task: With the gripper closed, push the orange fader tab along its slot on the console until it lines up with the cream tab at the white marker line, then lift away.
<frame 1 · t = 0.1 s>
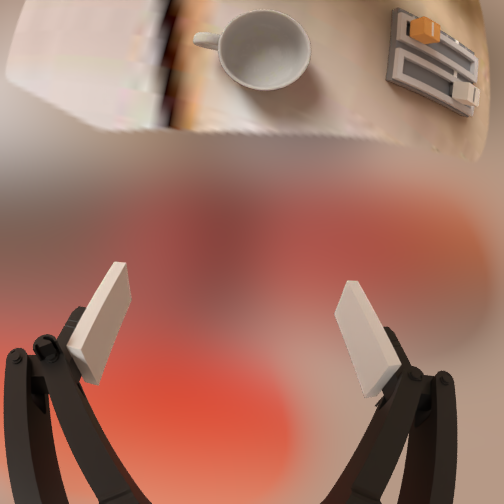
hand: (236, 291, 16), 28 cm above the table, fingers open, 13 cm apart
fader b: (464, 93, 28), point 5 cm above the table, slide at 10.0 cm
fader a: (422, 31, 24), point 5 cm above the table, slide at 0.0 cm
console: (432, 63, 30), on the table
teacup: (249, 54, 31), on the table
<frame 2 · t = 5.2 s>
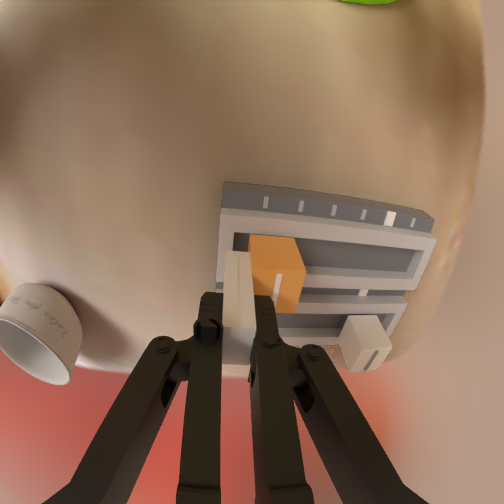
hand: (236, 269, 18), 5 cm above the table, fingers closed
fader b: (361, 339, 23), point 5 cm above the table, slide at 10.0 cm
fader a: (270, 268, 18), point 5 cm above the table, slide at 0.6 cm, touching gripper
console: (319, 269, 24), on the table
teacup: (45, 302, 26), on the table
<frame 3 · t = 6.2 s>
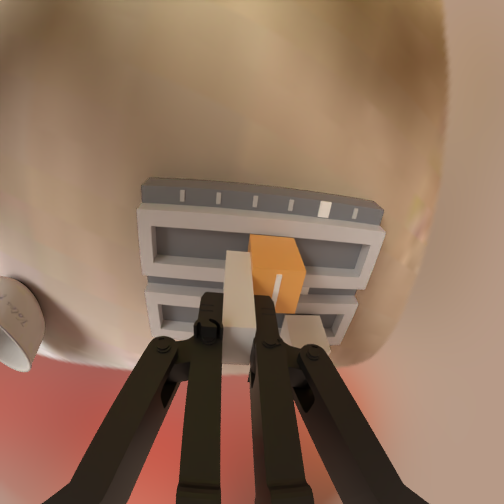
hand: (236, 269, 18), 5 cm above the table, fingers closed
fader b: (301, 340, 22), point 5 cm above the table, slide at 10.0 cm
fader a: (270, 268, 18), point 5 cm above the table, slide at 6.3 cm, touching gripper
console: (256, 264, 24), on the table
teacup: (15, 294, 25), on the table
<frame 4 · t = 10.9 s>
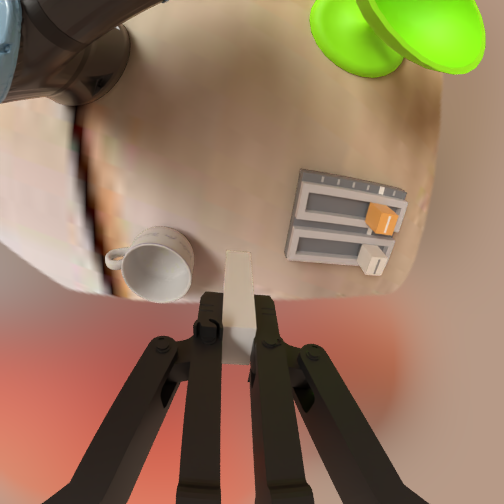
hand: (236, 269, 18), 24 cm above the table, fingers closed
fader b: (370, 257, 41), point 5 cm above the table, slide at 10.0 cm
fader a: (379, 217, 38), point 5 cm above the table, slide at 9.2 cm
console: (345, 219, 43), on the table
teacup: (157, 245, 44), on the table
wineglass: (361, 30, 28), on the table
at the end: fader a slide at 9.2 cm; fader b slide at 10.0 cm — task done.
